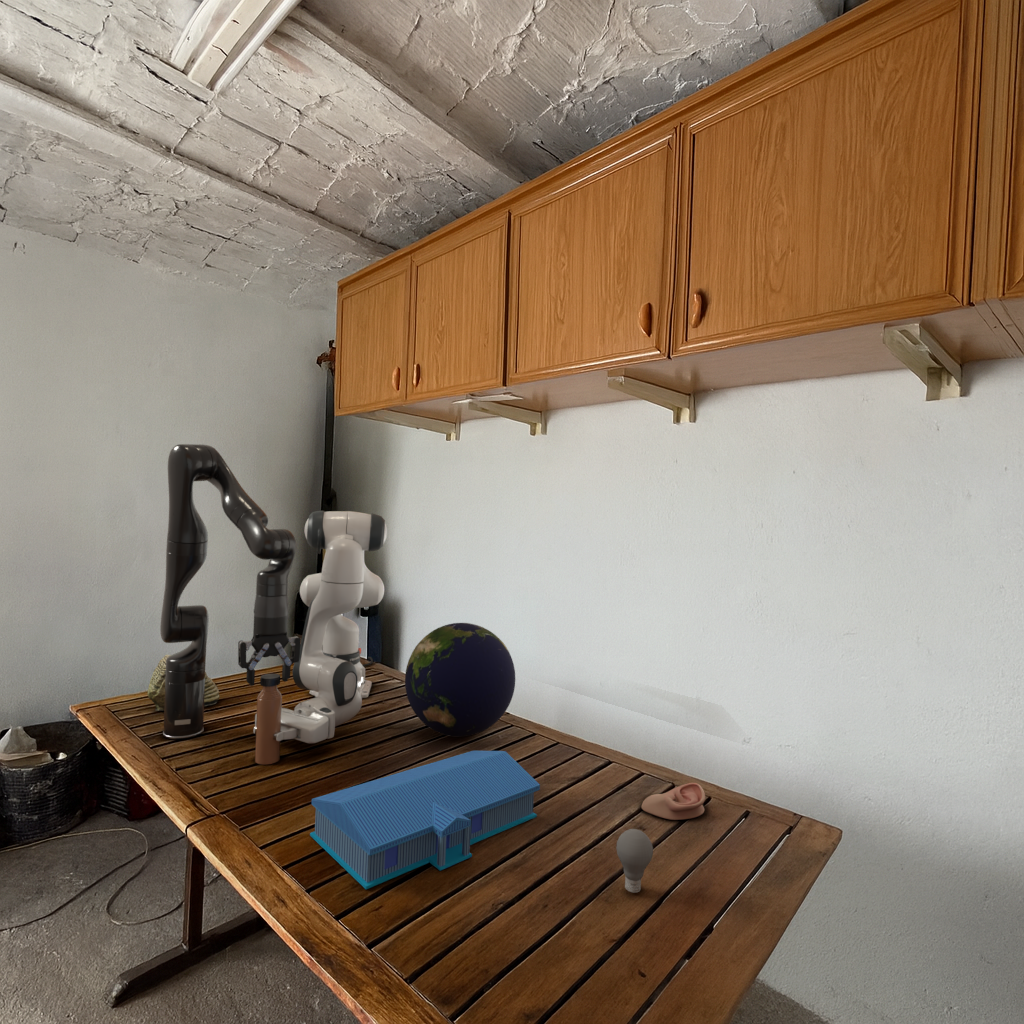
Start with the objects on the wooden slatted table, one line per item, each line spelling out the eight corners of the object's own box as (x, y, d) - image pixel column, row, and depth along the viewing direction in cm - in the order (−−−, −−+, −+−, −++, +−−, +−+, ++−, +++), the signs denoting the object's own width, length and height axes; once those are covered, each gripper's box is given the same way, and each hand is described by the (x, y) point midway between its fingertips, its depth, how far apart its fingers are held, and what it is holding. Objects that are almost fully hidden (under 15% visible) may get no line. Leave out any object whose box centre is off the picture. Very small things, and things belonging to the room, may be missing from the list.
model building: (376, 899, 100) (378, 836, 100) (308, 834, 119) (310, 781, 118) (548, 822, 127) (550, 773, 127) (472, 779, 145) (474, 735, 145)
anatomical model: (642, 796, 131) (642, 773, 142) (641, 815, 131) (641, 791, 142) (708, 805, 128) (703, 781, 140) (707, 825, 129) (702, 799, 140)
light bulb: (610, 879, 108) (613, 822, 108) (644, 879, 109) (647, 822, 109) (619, 902, 102) (622, 840, 102) (655, 901, 103) (658, 840, 103)
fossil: (144, 707, 182) (145, 655, 182) (212, 696, 194) (213, 647, 194) (151, 716, 175) (153, 662, 175) (221, 703, 188) (223, 653, 188)
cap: (283, 684, 151) (284, 676, 151) (266, 687, 147) (267, 679, 147) (273, 680, 154) (273, 672, 154) (256, 684, 150) (256, 676, 150)
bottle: (281, 762, 150) (284, 681, 149) (256, 766, 147) (259, 684, 147) (278, 753, 155) (280, 675, 154) (253, 757, 152) (256, 677, 152)
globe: (380, 741, 165) (385, 626, 164) (436, 708, 192) (440, 610, 192) (485, 764, 153) (490, 641, 153) (528, 725, 181) (533, 621, 181)
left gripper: (242, 618, 143) (240, 691, 143) (306, 614, 151) (303, 682, 151) (235, 612, 149) (232, 682, 149) (296, 608, 157) (294, 675, 157)
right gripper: (281, 698, 167) (236, 712, 155) (339, 713, 157) (296, 730, 145) (280, 721, 167) (235, 737, 155) (338, 738, 157) (295, 757, 145)
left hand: (268, 682), depth 150 cm, fingers open, 7 cm apart
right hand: (265, 734), depth 150 cm, fingers closed on bottle, 5 cm apart
